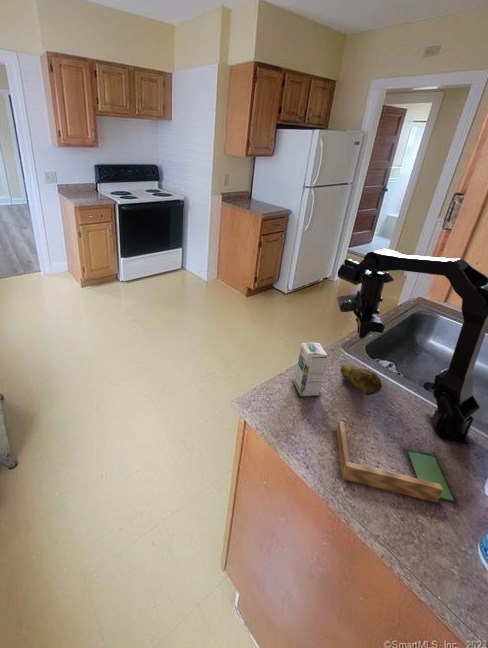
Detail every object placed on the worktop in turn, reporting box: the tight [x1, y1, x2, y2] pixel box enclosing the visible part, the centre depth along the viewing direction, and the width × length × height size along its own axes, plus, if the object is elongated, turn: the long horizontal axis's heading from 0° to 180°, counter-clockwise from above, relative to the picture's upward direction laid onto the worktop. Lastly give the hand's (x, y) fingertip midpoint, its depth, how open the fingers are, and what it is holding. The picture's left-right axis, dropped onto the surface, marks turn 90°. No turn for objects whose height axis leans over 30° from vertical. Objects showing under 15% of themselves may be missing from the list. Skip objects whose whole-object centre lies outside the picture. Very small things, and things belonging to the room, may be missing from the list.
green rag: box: [407, 451, 454, 502], centre depth 71 cm, size 6×10×1 cm, turn 165°
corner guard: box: [335, 421, 443, 503], centre depth 72 cm, size 18×12×4 cm
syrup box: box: [293, 342, 329, 397], centre depth 92 cm, size 6×6×14 cm
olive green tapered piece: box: [339, 363, 383, 397], centre depth 94 cm, size 8×13×8 cm, turn 177°
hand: (360, 335), depth 100 cm, fingers closed
